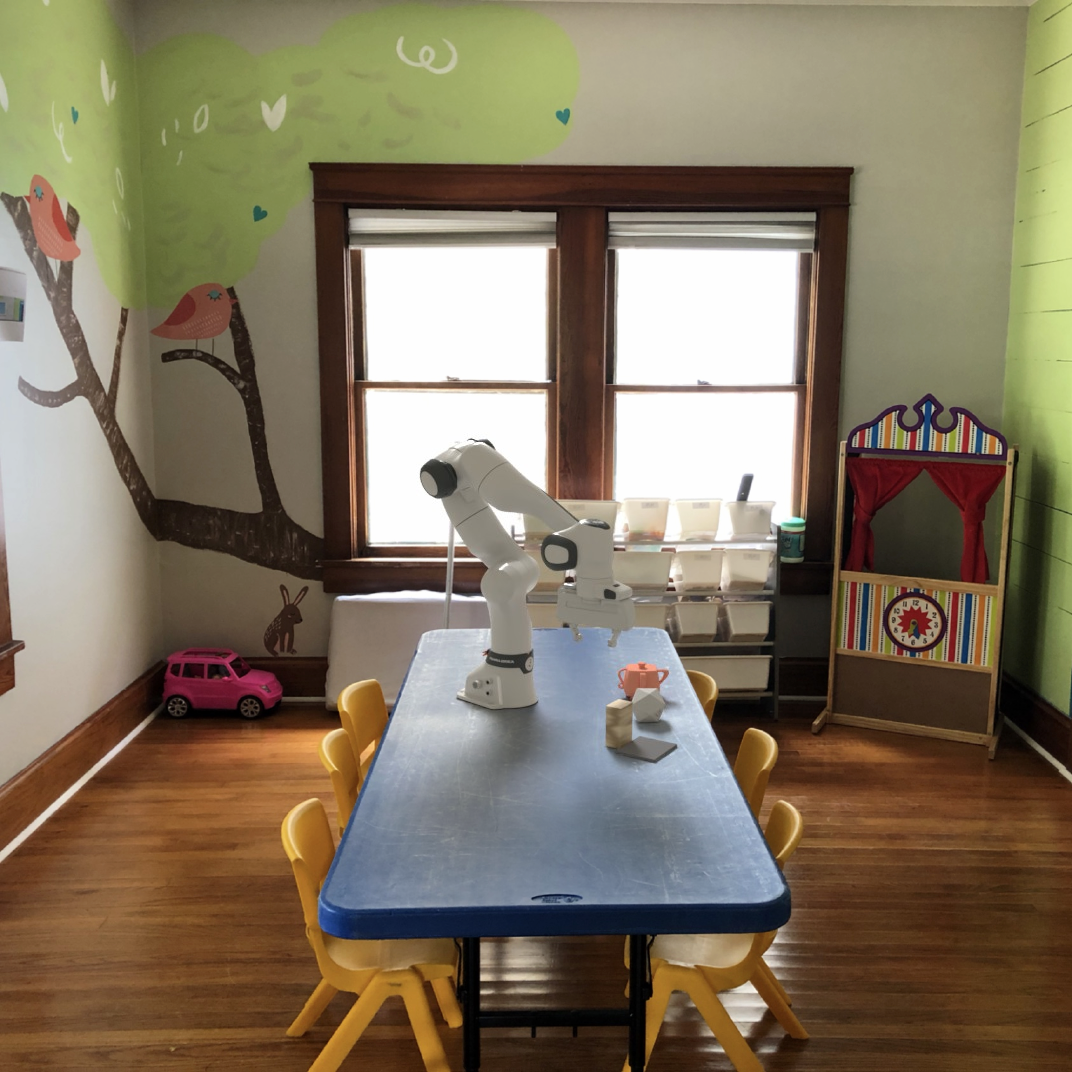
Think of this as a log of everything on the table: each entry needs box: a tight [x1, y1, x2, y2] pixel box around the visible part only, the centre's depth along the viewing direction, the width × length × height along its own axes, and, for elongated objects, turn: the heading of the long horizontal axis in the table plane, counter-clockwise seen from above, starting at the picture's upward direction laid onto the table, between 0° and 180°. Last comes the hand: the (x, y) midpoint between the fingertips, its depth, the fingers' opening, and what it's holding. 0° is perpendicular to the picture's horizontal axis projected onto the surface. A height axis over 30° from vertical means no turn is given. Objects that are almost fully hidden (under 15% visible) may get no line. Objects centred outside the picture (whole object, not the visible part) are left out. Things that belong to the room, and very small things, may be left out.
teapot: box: [617, 661, 670, 701], centre depth 287 cm, size 12×12×10 cm
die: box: [631, 688, 667, 723], centre depth 268 cm, size 8×9×10 cm
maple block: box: [604, 698, 634, 750], centre depth 251 cm, size 4×6×10 cm, turn 147°
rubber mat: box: [615, 735, 678, 763], centre depth 248 cm, size 10×12×1 cm
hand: (594, 643), depth 252 cm, fingers open, 8 cm apart
